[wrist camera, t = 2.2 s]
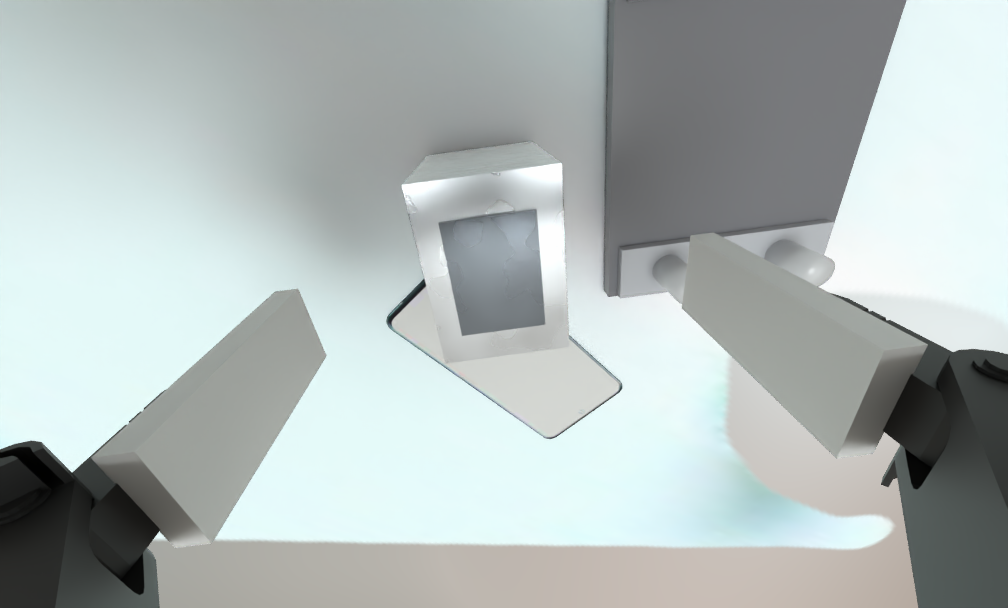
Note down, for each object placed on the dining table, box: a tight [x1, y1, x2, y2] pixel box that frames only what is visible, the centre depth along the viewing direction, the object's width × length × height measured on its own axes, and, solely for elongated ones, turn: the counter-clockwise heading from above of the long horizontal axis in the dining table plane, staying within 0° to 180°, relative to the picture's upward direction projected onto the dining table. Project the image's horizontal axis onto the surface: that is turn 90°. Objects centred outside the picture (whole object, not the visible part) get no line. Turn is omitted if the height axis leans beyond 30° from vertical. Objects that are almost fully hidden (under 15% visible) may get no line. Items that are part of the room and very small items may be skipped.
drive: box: [401, 141, 569, 364], centre depth 16 cm, size 7×5×7 cm
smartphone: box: [387, 279, 622, 439], centre depth 24 cm, size 7×1×15 cm
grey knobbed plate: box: [604, 0, 906, 304], centre depth 16 cm, size 16×12×4 cm
